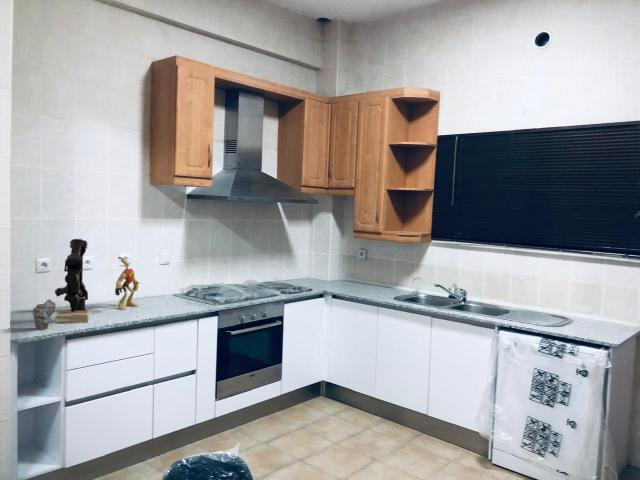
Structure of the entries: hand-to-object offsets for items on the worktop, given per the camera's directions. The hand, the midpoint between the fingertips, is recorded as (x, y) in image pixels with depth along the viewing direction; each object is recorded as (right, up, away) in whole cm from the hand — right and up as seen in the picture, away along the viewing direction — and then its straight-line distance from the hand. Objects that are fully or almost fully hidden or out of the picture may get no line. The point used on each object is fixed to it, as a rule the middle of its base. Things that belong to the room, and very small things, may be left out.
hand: (73, 311), depth 276 cm
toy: (+14, -3, +35) cm, 38 cm away
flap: (-1, -1, +2) cm, 2 cm away
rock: (-6, -6, -18) cm, 20 cm away
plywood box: (0, -5, 0) cm, 5 cm away
